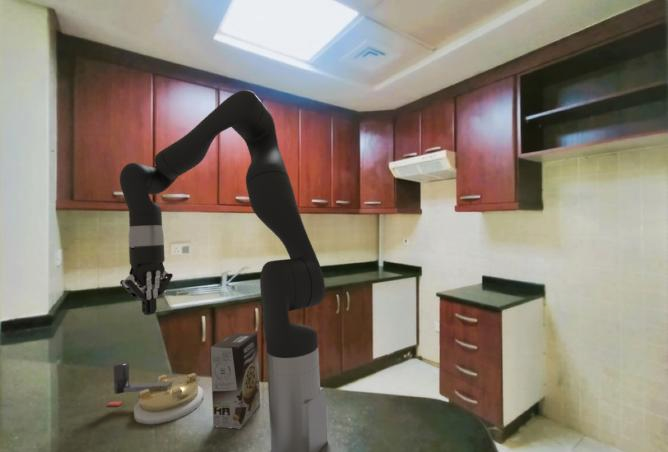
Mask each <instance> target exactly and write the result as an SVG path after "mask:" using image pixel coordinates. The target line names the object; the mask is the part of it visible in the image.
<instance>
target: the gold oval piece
mask: <svg viewBox="0 0 668 452" xmlns="http://www.w3.org/2000/svg"><path fill="white" fill-rule="evenodd" d="M112 367H113V368H112V369H113V392H114V394H116V395H117V394H123V393H137V392H139V395H138V402H139V407H140V408H141V409H142V410H144V411H149V412H156V411H164V410H168V409H172V408H175V407H178V406H180V405H182V404H184V403H186V402H188V401H190V400H191V399H192V398H194V397H195V396H196V395H197V393H198V386H199V381H198V378H197V374H196V373H195V372H192V373H189V374H186V375H179V376H173V377H172V376H171V377H168V375H167V374H165V373H164V374H163V375H159V376H157V381H155V382H152V381H151V382H138V383H135V382H134V383H131V380H130V379H131V378H130V377H131V376H130V361H126V360H125V361H120V362H117V363H115V364H113V365H112Z"/></svg>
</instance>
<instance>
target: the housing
mask: <svg viewBox="0 0 668 452" xmlns="http://www.w3.org/2000/svg"><path fill="white" fill-rule="evenodd" d="M202 399H203V400H204V389H203V388H202V387H201V386H200V385H198V393H197V395H196V396H195V397H194V398H192V399H191V400H190V401H188V402H186V403H184V404H182V405H180V406H178V407H175V408H172V409H168V410H164V411H156V412H149V411H144V410H142V409H141V408H140V407H139V401H137V403H136V404H135V405H134V407H133V417H134V420H135V422H137V423H139V424H144V425H157V424H163V422H164V423H168V422H171V420H172V421H175V420H176V419H180V418H182V417H185V416H186V415H188V414H191V413H192V412H193V411H195V410H196V409H197V408H198V407H200V405H201V404H202V403H203V401H202ZM201 402H202V403H201ZM200 403H201V404H200ZM199 404H200V405H199ZM195 408H196V409H195ZM194 409H195V410H194ZM174 419H175V420H174ZM167 421H168V422H167Z"/></svg>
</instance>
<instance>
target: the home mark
mask: <svg viewBox="0 0 668 452" xmlns="http://www.w3.org/2000/svg"><path fill="white" fill-rule="evenodd" d="M123 404H124V401H110V402H108V403H107V404H106V405H107V407H120V406H121V405H123Z"/></svg>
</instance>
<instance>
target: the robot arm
mask: <svg viewBox="0 0 668 452" xmlns="http://www.w3.org/2000/svg"><path fill="white" fill-rule="evenodd" d="M275 125H276V124H275V121H274V117H273V115H272V113H271V112H270V111H269V110H268V108H267V107H266V106H265V104H264V103H263V102H262V100H261V99H260V98H259V97H258V96H257V95H256V93H255V92H254V91H252V90H249V89H242V90H239V91H237V92H234V93H233V94H231V95H229V96H228V97H227V98H226V99H225V100H224V101H222V102H221V103H220V104H219V105H218V106H217V107H215V108H214V109H213V110H212V111H211V112H210V113H209V114H208V115H206V116H205V117H204V118H203V119H202V120H201V121H200V122H199V123H198V124H196V126H195V127H194V128H193V129H191V130H190V131H189V132H188V133H186V134H184V136H183V137H181V138H179V139H178V140H177V141H175V142H173V143H171V144H169V145H168V146H167V147H165V148H164V149H161V150H160V151H159V152H158V153H156V155H155V156H154V164H155V166H150V165H146V164H142V163H139V162H130V163H127V164H125V165H124V167H123V168H122V169H121V171H120V174H119V175H120V176H119V185H120V189H121V191H122V194H123V195H122V196H123V197H124V198H123V199H124V200H125V204H126V207H127V210H128V217H129V218H128V219H129V220H128V221H129V222H128V223H129V232H128V256H129V261H128V262H129V265H130V270H129V273H128V276H126V278H125V279H121V280H120V282H119V284H120V286H122V287H123V288H124V289H125V291H126V292H127V293H128V294H129V295H130V296H131V297H132V298H133V299H137V300H138V299H139V300H141V311H142V314H143V315H145V316H151V315H154V314H155V315H156V312H157V298H158V297H159V296H160V295H164V292H165V291H166V289H167V287H168V285H169V284H170V282H171V280H172V279H173V277H174V275H173V273H170V272H169V273H168V272H167V271H166V268H165V265H164V262H165V259H166V258H165V238H164V230H163V219H162V218H163V216H162V215H163V213H162V207H161V206H160V204H158V203H156V202H154V201H152V199H151V196H150V195H152V196H153V195H157V194H158V195H159V194H160V193H163V192H165V191H167V189H168V188H169V187H170V186H171V185H172V184H173V183H174V182H175V181H176V180H177V179H178V178H179V177H180V176H182V175H183V174H186V173H187V172H188V171H190V170H192V169H194V168H195V167H196V166H199V164H200V163H202V161H203V160H204V159H205V157H206V155H207V154H208V151H209V150H210V149H209V148H210V146H211V145H212V143H213V141H214V140H215V138H216V137H217V136H218V135H220V134H221V133H222V132H224V131H226V130H227V129H230V128H231V129H233V131H235V132H236V133H237V134H238V135H239V136H240V138H242V140H244V142H245V144H246V147H247V150H248V152H249V156H250V164H249V165H248V168H247V171H246V175H245V185H246V190H247V195H248V199H249V204H250V206H251V209H252V211H253V212H254V214H255V216H256V217H257V218H258V219H259V221H261V222H262V224H264V225H265V226H266V227H267V228H268V229H269V230H270V231H271V232H272V233H273V234H274V235H275V236H276V237H277V238H278V239H279V240H280V241H281V243H282V244H283V246H284V247H285V250H286V252H287V255H288V256H289V258H285V259H276V260H269V261H267V262H266V263H265V264H263V265H262V268H261V271H260V276H259V277H260V279H259V284H260V297H261V298H260V299H261V307H262V318H263V329H264V338H265V344H266V365H267V368H266V369H267V383H268V384H267V391H268V407H269V408H268V409H269V411H268V413H269V430H270V449H271V452H320V451H321V450H322V449H323V447H324V446H325V445H326V443H327V442H328V439H329V438H328V423H327V407H326V405H327V403H326V389H325V387H322V386H321V379H320V378H321V377H320V375H321V374H320V358H319V357H320V356H319V339H318V338H319V337H318V333H317V330H316V328H313V327H311V326H309V325H305V324H298V323H293V322H291V320H290V316H289V315H290V314H289V312H291V311H296V310H301V309H307V308H312V307H315V306H318V305H319V304H321V303H322V302H323V300H324V297H325V293H326V291H325V290H326V287H325V286H326V284H325V278H324V277H325V276H324V272H323V271H322V270H323V269H322V268H321V265H320V262H319V259H318V257H317V254H316V252H315V249H314V247H313V244H312V243H311V240H310V238H309V235H308V233H307V231H306V228H305V225H304V223H303V219H302V217H301V214H300V209H299V208H298V204H297V200H296V197H295V193H294V188H293V185H292V183H291V178H290V176H289V174H288V171H287V168H286V164H285V161H284V160H283V156H282V154H281V151H280V147H279V143H278V137H277V131H276V126H275Z"/></svg>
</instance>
